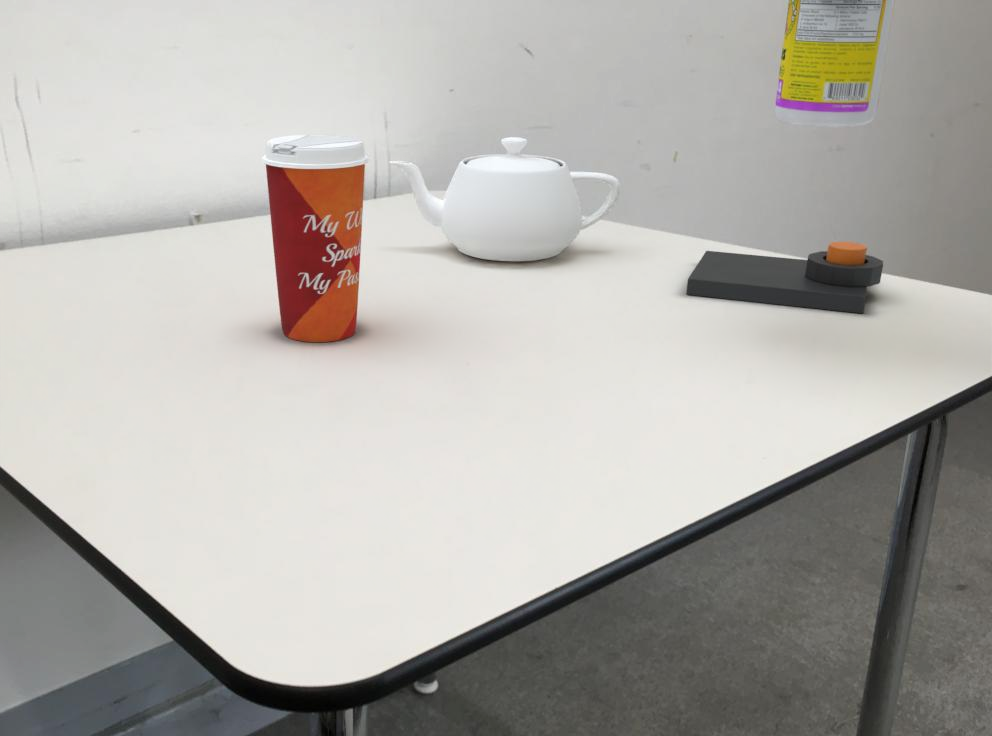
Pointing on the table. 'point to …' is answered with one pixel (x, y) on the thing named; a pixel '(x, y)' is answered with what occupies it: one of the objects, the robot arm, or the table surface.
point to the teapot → (510, 204)
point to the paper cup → (316, 232)
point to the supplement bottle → (833, 62)
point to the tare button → (846, 253)
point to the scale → (785, 280)
